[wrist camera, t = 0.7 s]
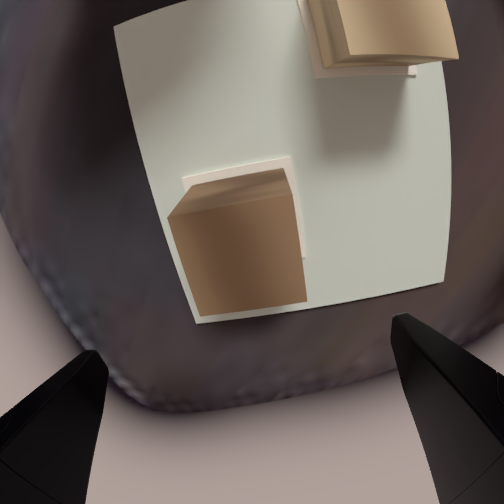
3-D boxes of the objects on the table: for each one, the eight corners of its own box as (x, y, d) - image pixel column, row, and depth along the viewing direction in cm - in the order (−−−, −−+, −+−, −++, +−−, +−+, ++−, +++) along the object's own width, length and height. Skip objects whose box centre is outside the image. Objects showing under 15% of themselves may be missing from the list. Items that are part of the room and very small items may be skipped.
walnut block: (283, 167, 16) (292, 194, 12) (296, 251, 18) (307, 301, 14) (192, 185, 17) (166, 217, 12) (213, 264, 19) (200, 316, 14)
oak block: (390, -13, 11) (430, -42, 6) (409, 66, 13) (459, 58, 8) (303, -14, 11) (319, -54, 7) (323, 68, 14) (349, 54, 9)
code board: (418, -11, 11) (424, -15, 10) (439, 277, 20) (444, 283, 19) (117, 28, 13) (111, 25, 12) (197, 318, 22) (195, 325, 21)
